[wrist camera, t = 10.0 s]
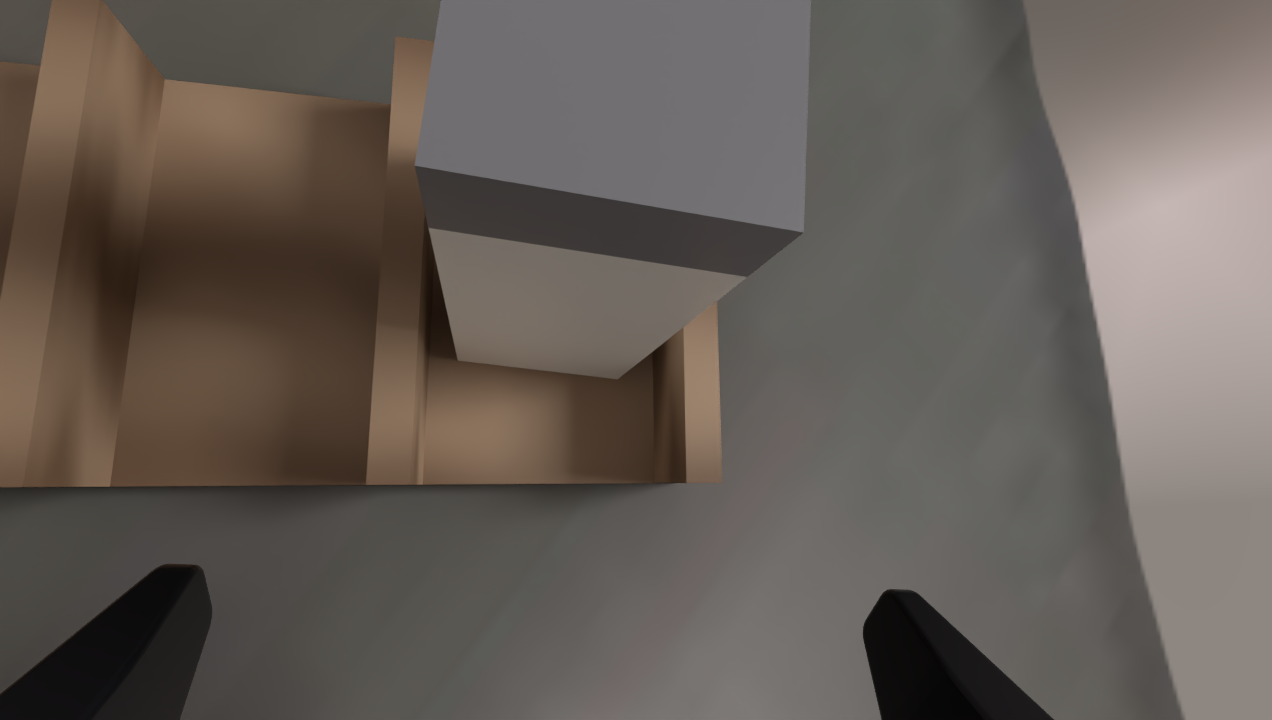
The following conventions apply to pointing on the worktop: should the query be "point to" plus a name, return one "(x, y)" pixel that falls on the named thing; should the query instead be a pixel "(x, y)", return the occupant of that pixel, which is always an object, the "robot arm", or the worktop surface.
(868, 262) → the worktop surface
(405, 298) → the comb rack
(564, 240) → the grey piece
